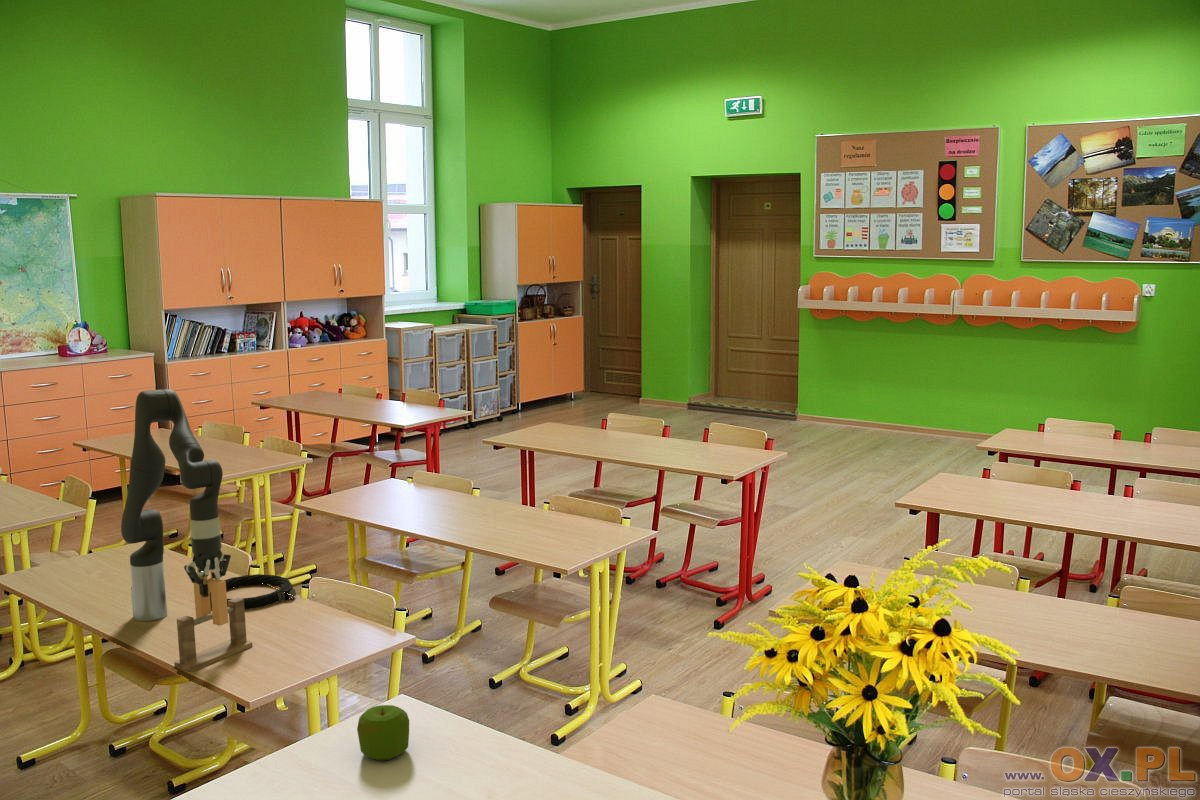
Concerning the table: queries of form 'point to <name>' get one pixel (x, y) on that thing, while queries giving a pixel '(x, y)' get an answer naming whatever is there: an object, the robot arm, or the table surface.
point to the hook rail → (215, 653)
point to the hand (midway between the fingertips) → (210, 594)
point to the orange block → (217, 599)
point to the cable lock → (259, 579)
